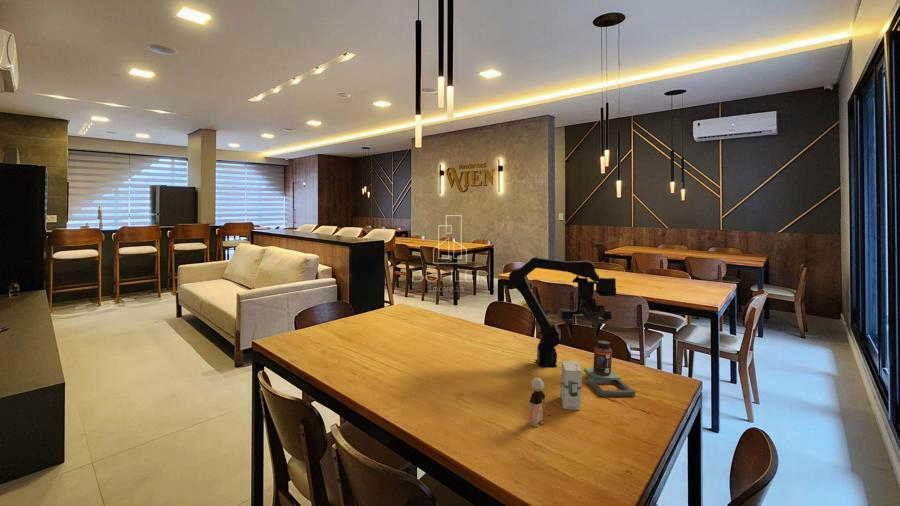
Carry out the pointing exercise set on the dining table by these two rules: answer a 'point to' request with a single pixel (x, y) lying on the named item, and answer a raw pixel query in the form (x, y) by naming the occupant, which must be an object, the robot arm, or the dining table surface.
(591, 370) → the pad
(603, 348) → the supplement bottle
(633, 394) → the grey square frame
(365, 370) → the dining table surface
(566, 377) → the ink box
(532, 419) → the grandmother figurine
